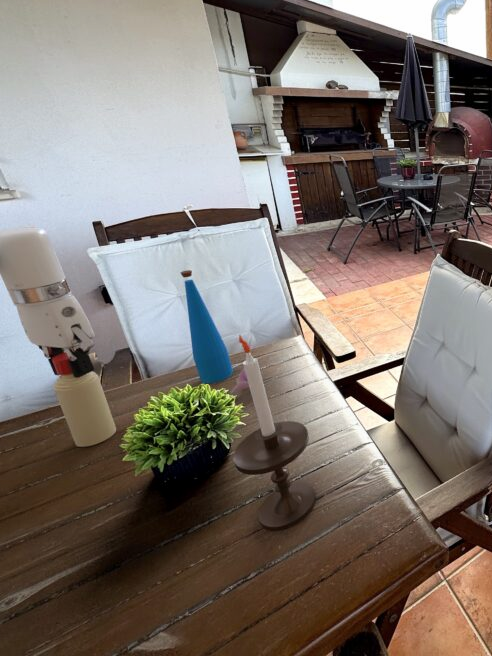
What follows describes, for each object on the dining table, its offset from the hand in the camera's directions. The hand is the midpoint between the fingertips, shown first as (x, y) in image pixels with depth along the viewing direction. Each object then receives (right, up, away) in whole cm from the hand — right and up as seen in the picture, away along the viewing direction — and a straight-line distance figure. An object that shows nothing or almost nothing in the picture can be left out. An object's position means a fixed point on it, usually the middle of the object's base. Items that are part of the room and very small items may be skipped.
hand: (74, 372), depth 83 cm
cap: (0, +1, -1) cm, 1 cm away
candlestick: (+51, -22, -11) cm, 56 cm away
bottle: (+10, -8, +26) cm, 29 cm away
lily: (+24, -11, +18) cm, 32 cm away
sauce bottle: (0, -15, +5) cm, 16 cm away
